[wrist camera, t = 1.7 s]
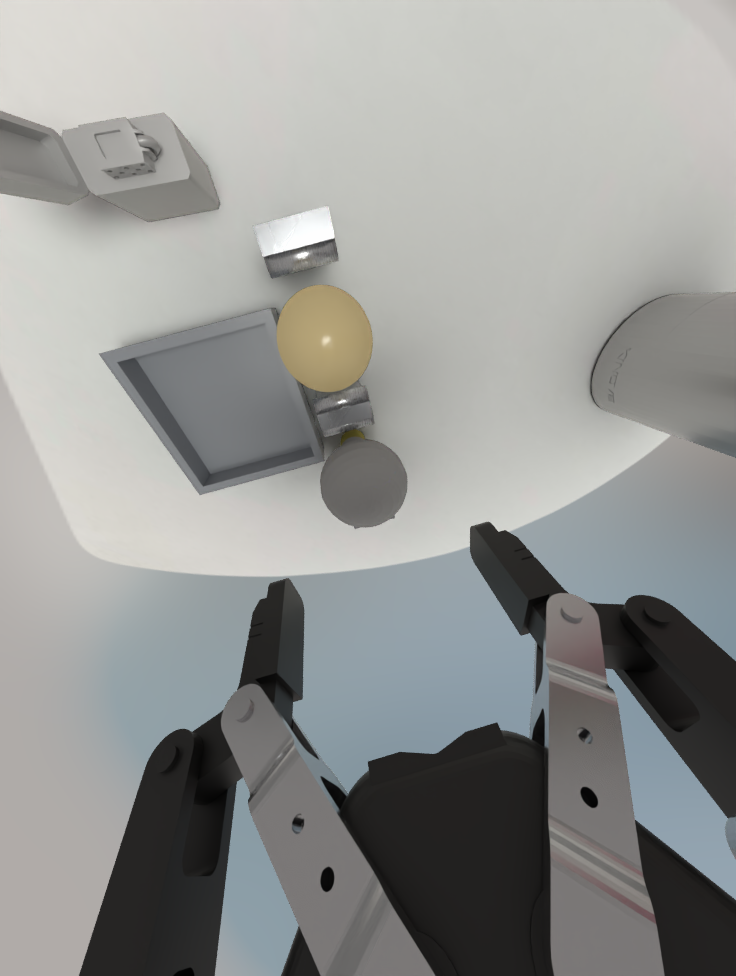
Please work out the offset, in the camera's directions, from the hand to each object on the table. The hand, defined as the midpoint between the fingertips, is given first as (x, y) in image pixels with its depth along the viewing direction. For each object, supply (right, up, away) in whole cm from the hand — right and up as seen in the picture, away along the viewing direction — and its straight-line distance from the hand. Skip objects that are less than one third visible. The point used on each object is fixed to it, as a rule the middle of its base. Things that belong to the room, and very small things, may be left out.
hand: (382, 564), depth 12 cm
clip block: (-3, +11, +9) cm, 14 cm away
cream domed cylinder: (-4, +14, +7) cm, 16 cm away
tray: (-10, +9, +9) cm, 16 cm away
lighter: (-12, +19, +3) cm, 22 cm away
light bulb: (-2, +8, +12) cm, 14 cm away
